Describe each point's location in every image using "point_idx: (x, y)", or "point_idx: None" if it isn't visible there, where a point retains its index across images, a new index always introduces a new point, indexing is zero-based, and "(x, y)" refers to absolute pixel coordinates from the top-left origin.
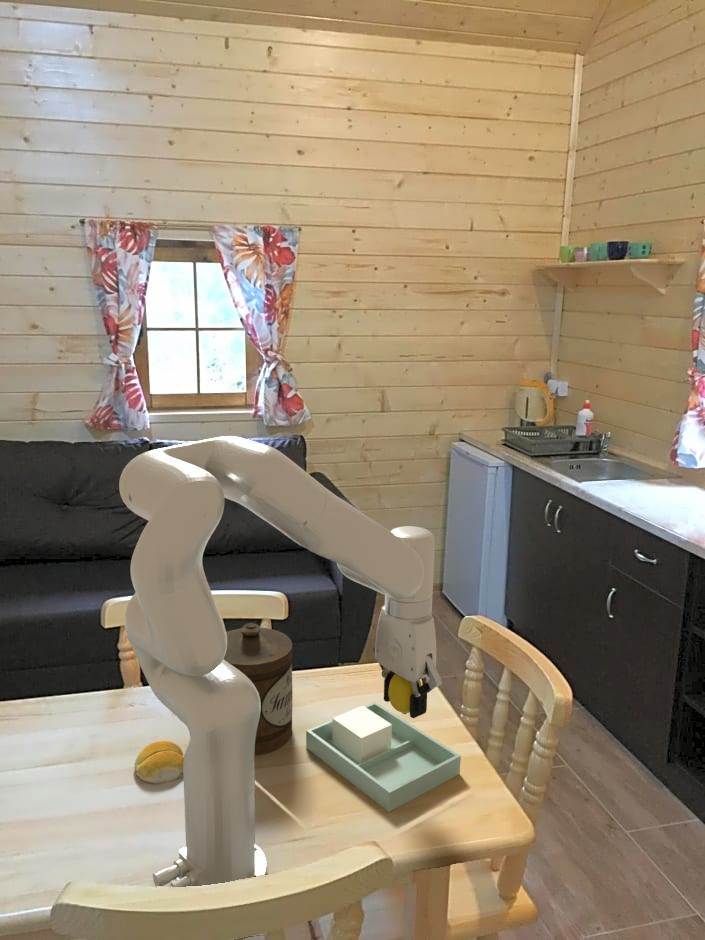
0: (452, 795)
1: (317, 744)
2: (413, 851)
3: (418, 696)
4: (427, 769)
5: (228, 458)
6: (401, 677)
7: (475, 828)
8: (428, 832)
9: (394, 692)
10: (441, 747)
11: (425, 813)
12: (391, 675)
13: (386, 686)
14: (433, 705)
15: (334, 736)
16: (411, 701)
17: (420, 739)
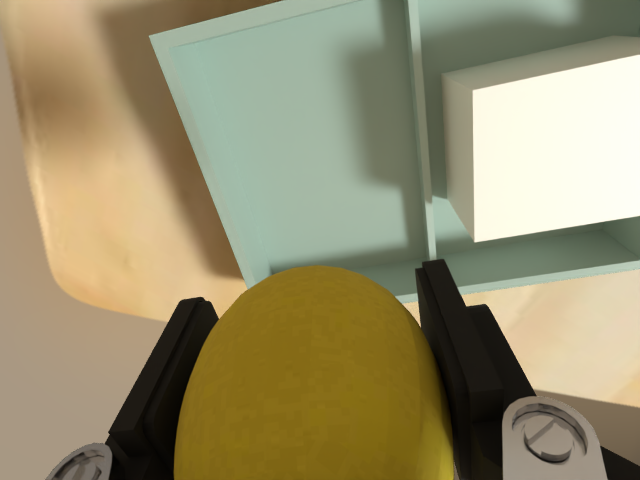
0: (212, 236)
1: None
2: (8, 15)
3: (65, 463)
4: (317, 237)
5: None
6: None
7: (84, 217)
8: (85, 104)
9: (266, 354)
10: None
11: (163, 140)
12: (485, 468)
13: (452, 345)
14: (542, 373)
15: (621, 40)
16: (148, 384)
17: (403, 281)
